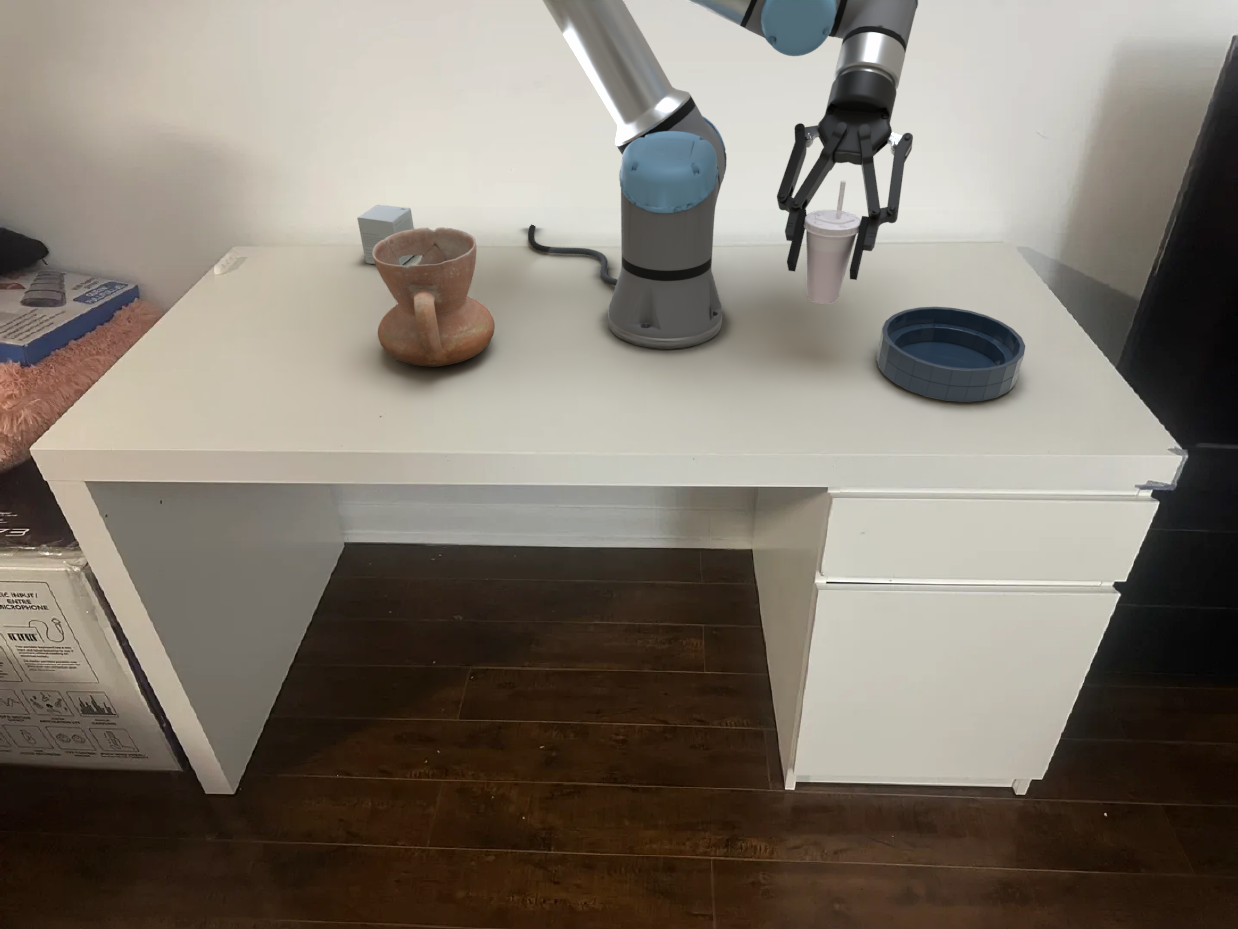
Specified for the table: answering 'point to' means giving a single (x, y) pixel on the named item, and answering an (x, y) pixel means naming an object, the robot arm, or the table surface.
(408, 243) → the ceramic jug
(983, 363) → the bowl
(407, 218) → the product box
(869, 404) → the table surface
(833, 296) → the smoothie
